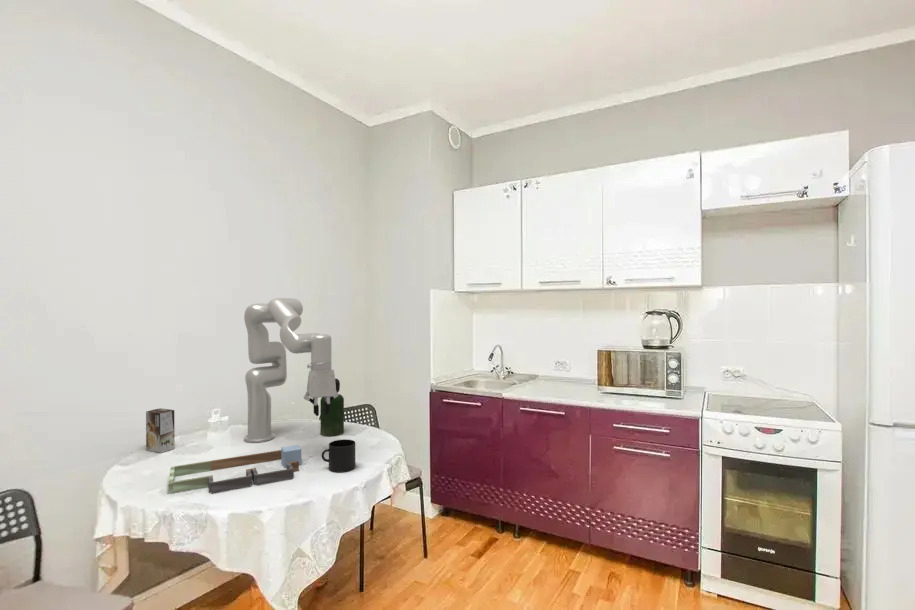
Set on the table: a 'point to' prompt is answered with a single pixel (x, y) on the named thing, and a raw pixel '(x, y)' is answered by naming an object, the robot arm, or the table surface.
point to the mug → (341, 455)
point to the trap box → (230, 483)
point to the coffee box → (160, 430)
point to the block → (290, 454)
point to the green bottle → (332, 415)
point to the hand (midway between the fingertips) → (321, 414)
